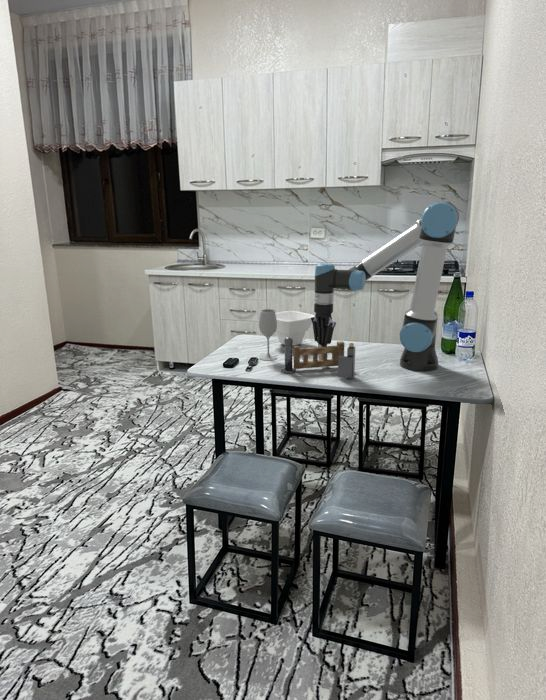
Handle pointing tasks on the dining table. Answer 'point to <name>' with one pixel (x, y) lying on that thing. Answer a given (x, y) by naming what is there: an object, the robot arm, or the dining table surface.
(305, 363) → the gate
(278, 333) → the bowl
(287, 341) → the hinge post
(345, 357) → the stile post
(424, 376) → the dining table surface
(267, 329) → the wineglass
